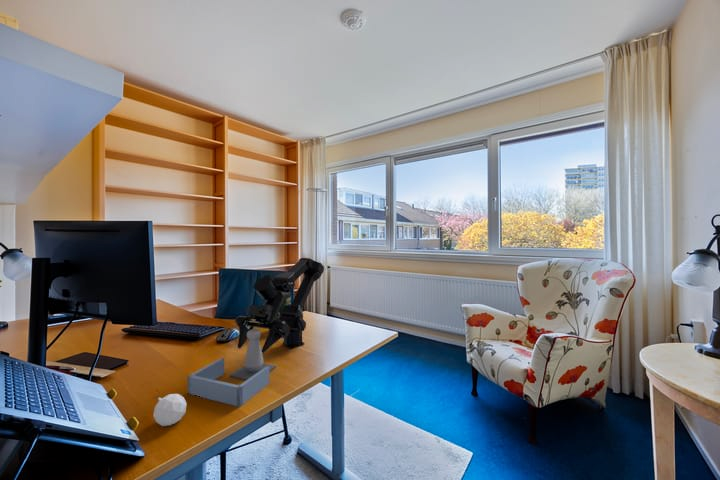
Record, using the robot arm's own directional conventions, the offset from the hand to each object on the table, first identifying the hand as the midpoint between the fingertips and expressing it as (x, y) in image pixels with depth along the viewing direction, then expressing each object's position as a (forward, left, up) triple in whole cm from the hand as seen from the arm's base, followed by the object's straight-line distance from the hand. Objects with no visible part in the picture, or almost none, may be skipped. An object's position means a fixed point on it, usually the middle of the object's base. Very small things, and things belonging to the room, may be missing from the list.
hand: (250, 350), depth 93 cm
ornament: (+24, +10, -8) cm, 27 cm away
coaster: (-1, -1, -8) cm, 8 cm away
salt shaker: (-1, -1, -7) cm, 8 cm away
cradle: (+8, +4, -8) cm, 12 cm away
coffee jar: (-26, -30, -8) cm, 41 cm away
